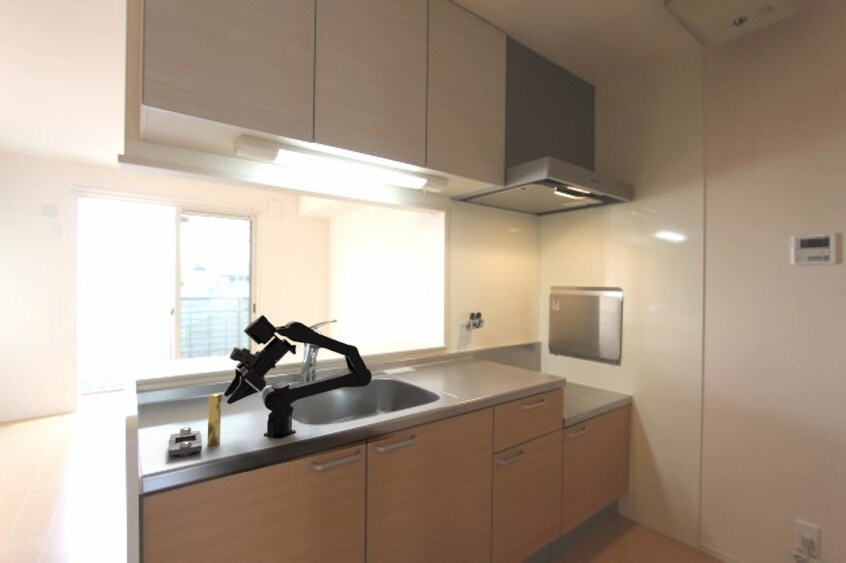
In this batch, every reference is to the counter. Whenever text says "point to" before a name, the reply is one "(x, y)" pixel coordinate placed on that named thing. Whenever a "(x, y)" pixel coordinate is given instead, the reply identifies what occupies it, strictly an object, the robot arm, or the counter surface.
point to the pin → (214, 419)
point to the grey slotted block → (185, 442)
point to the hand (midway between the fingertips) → (226, 399)
